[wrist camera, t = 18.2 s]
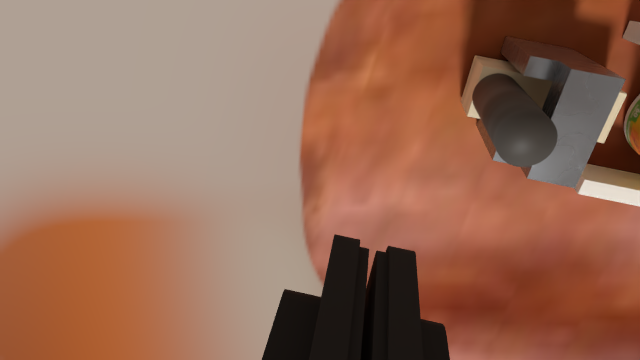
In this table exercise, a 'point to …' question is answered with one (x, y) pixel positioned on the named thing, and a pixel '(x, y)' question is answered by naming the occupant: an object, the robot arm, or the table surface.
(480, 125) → the guide block
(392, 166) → the table surface
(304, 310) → the robot arm
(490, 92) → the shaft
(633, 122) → the supplement bottle
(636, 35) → the frame
